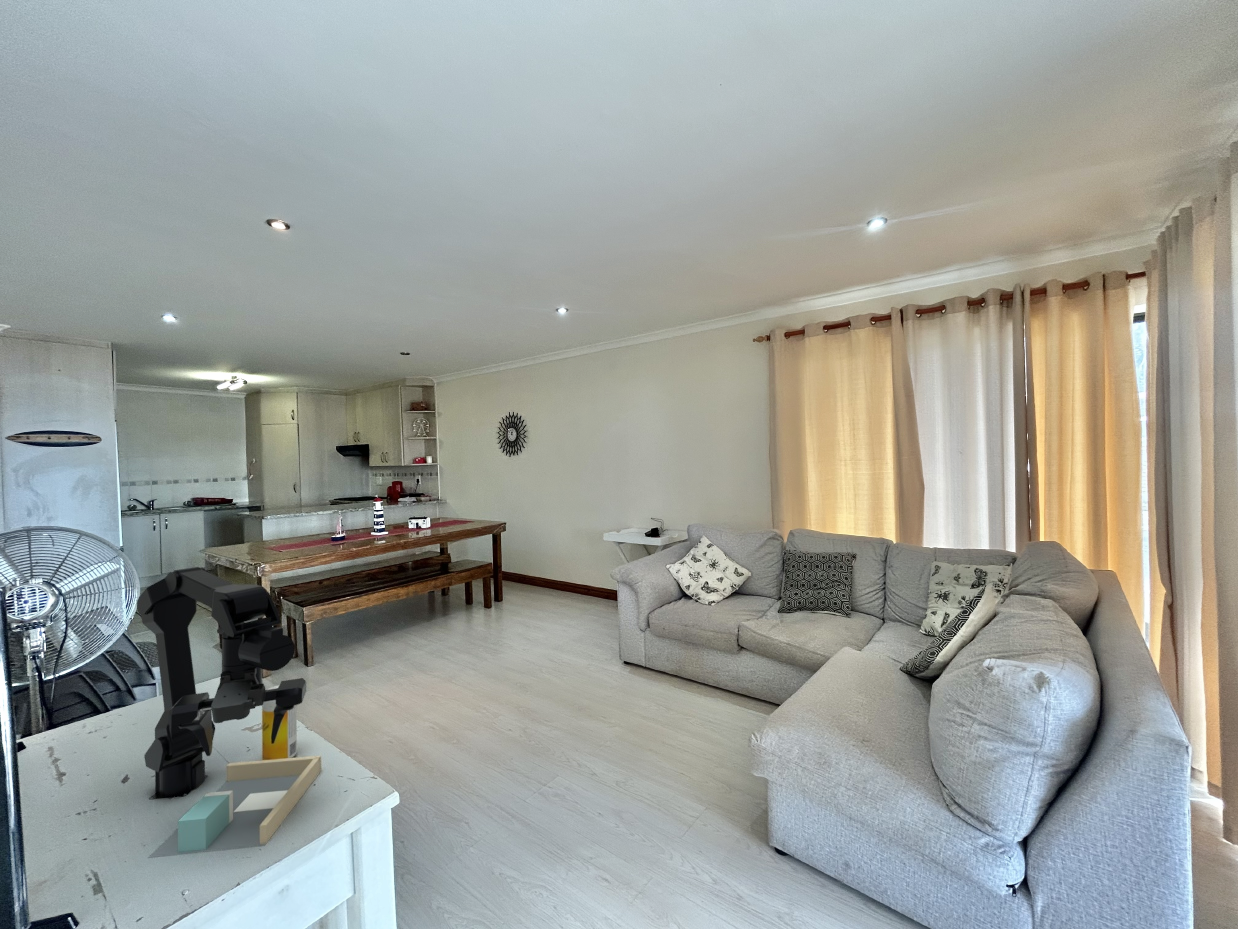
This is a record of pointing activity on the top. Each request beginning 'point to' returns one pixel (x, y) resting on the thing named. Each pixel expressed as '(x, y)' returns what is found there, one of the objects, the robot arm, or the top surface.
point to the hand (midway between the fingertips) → (241, 748)
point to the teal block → (205, 821)
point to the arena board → (256, 801)
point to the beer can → (286, 735)
